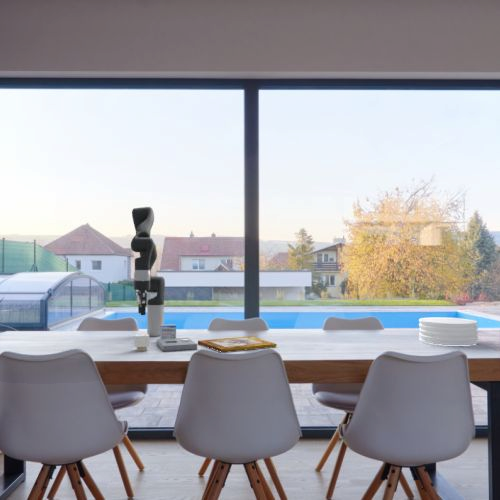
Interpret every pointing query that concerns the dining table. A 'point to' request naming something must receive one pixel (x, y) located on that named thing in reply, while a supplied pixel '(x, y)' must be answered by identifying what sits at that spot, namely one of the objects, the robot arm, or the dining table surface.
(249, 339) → the picture frame
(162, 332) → the medicine box
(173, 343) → the socket panel
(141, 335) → the plug
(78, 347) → the dining table surface
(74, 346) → the dining table surface
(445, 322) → the plate stack
